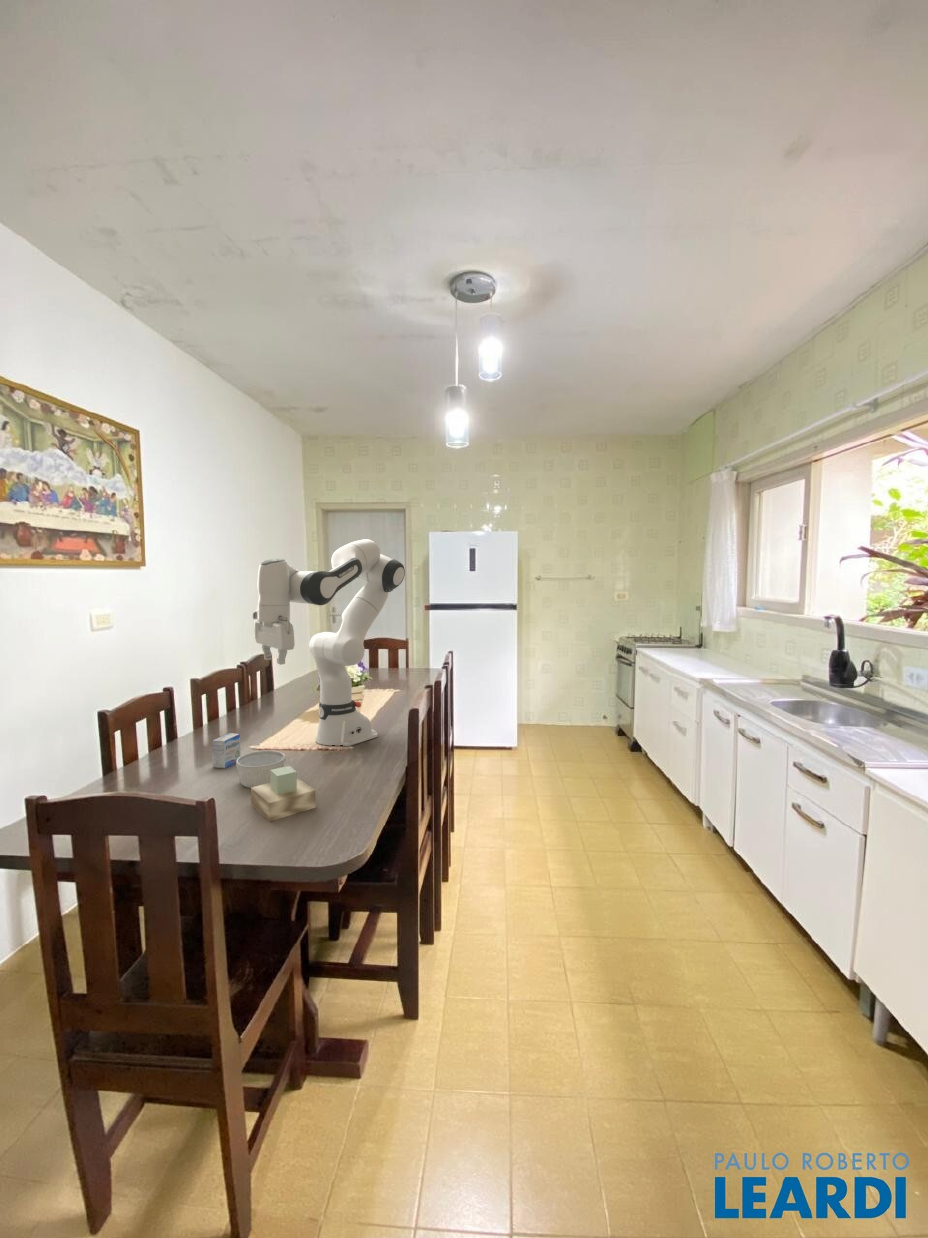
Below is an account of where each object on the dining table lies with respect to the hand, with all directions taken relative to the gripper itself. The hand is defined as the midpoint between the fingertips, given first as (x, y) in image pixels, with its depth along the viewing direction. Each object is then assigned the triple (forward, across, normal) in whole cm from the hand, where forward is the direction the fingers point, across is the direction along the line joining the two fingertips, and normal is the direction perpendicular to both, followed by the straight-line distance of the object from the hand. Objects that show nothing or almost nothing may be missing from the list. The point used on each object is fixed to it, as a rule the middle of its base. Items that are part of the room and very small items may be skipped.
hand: (274, 661), depth 152 cm
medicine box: (+34, +18, +8) cm, 40 cm away
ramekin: (+34, -2, +5) cm, 35 cm away
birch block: (+34, -22, +7) cm, 41 cm away
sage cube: (+30, -22, +7) cm, 38 cm away
